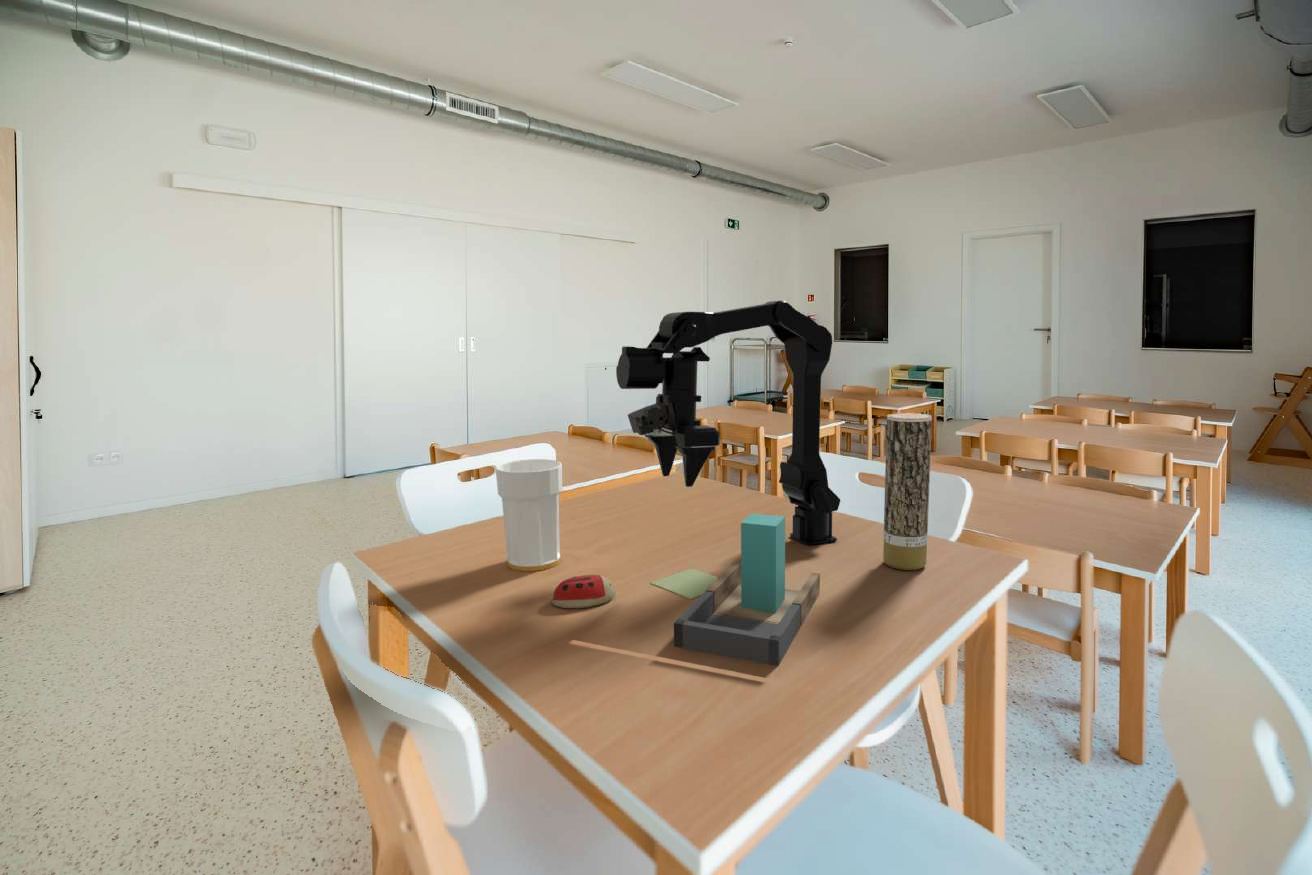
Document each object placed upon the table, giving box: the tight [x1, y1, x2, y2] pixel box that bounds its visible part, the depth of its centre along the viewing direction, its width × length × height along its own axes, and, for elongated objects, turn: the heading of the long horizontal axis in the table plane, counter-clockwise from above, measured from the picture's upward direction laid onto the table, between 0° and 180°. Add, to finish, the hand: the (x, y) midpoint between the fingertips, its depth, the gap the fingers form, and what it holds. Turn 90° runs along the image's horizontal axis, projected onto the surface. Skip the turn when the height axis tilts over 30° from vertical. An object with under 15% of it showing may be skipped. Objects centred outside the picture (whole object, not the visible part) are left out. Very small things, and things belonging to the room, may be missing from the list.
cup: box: [495, 458, 563, 572], centre depth 118 cm, size 11×11×17 cm
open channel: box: [706, 562, 821, 628], centre depth 98 cm, size 12×13×4 cm
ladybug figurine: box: [549, 574, 616, 609], centre depth 102 cm, size 7×10×4 cm
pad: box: [650, 568, 719, 600], centre depth 106 cm, size 9×9×1 cm
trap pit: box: [673, 591, 801, 667], centre depth 87 cm, size 11×13×4 cm
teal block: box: [740, 513, 786, 613], centre depth 97 cm, size 5×5×12 cm
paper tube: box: [882, 412, 933, 571], centre depth 111 cm, size 7×7×25 cm
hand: (677, 481), depth 115 cm, fingers open, 9 cm apart
